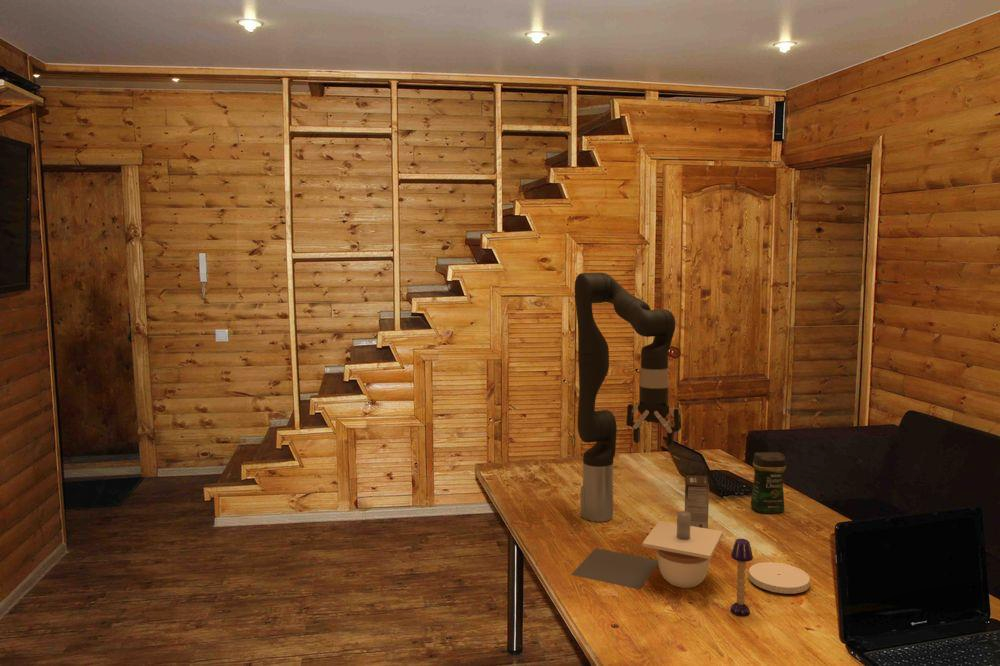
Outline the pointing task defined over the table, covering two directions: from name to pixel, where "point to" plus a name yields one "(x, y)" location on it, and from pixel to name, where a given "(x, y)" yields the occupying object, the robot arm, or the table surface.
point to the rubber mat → (616, 568)
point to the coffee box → (697, 500)
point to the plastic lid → (779, 577)
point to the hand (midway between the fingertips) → (653, 444)
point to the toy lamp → (741, 575)
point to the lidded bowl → (682, 568)
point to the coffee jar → (768, 482)
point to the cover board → (683, 546)
